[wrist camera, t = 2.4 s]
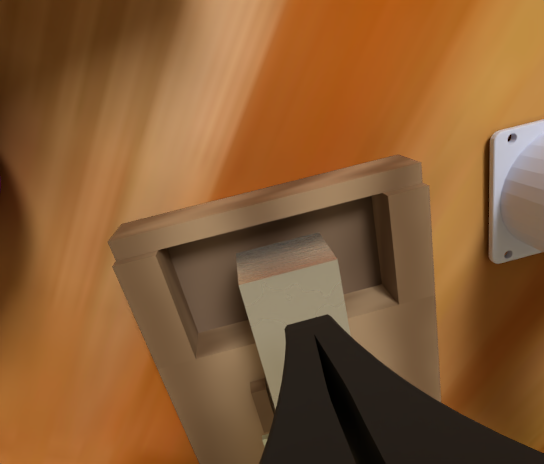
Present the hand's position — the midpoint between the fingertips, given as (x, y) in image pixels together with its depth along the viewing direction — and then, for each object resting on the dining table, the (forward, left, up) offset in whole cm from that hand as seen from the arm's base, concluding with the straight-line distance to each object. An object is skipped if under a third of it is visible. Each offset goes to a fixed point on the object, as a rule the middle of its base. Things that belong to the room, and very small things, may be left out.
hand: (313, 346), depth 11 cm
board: (0, +10, -10) cm, 14 cm away
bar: (0, +5, -7) cm, 9 cm away
